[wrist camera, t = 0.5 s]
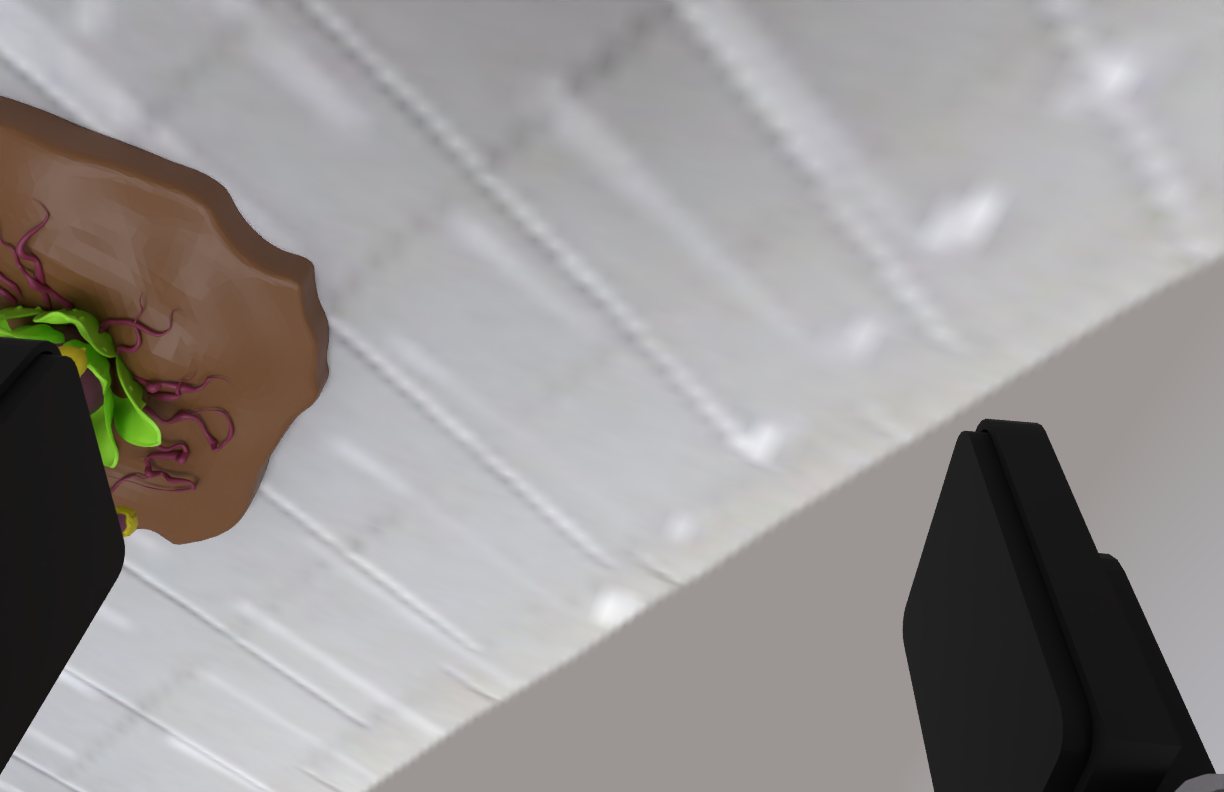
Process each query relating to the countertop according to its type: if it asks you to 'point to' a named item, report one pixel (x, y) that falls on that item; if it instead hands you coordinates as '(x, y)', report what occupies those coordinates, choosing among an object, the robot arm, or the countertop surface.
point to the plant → (157, 318)
